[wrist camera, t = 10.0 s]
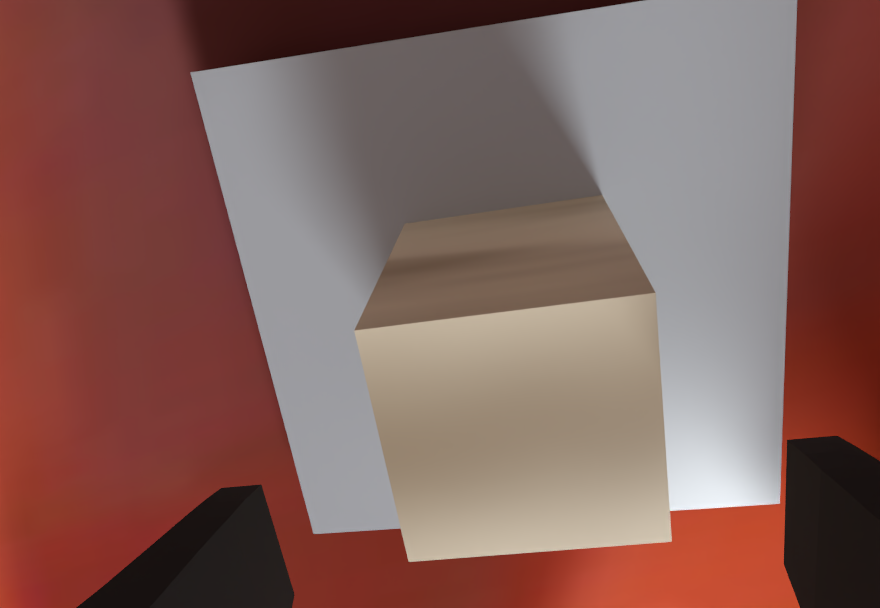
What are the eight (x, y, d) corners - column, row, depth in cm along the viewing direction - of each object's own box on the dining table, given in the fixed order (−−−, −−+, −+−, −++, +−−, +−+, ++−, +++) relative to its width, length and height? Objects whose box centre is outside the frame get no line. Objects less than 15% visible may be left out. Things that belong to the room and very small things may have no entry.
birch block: (617, 373, 17) (671, 541, 12) (438, 393, 18) (408, 561, 12) (602, 195, 16) (655, 292, 10) (404, 223, 16) (354, 330, 11)
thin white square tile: (748, 448, 21) (779, 503, 18) (333, 480, 22) (313, 533, 20) (756, -19, 16) (798, -24, 14) (230, 64, 18) (190, 72, 15)
